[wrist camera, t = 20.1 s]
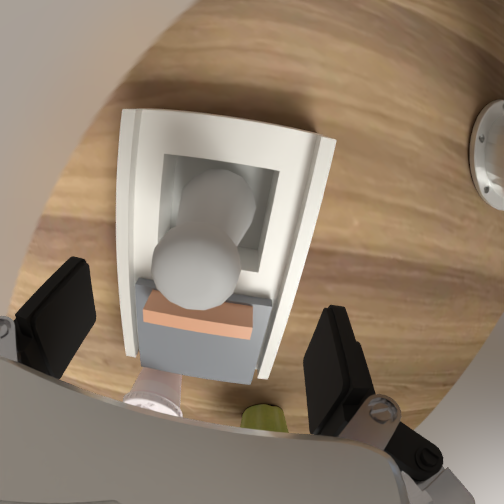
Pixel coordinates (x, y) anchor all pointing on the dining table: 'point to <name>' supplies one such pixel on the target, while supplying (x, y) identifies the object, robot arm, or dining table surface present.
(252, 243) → the socket block
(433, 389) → the dining table surface
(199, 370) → the shutter
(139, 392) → the smoothie
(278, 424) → the plant pot
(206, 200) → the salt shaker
